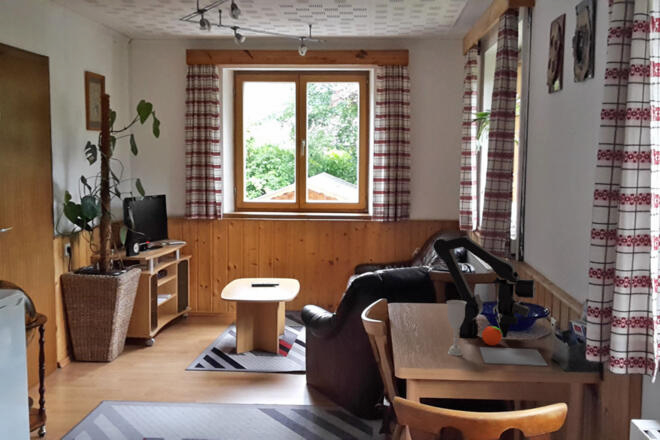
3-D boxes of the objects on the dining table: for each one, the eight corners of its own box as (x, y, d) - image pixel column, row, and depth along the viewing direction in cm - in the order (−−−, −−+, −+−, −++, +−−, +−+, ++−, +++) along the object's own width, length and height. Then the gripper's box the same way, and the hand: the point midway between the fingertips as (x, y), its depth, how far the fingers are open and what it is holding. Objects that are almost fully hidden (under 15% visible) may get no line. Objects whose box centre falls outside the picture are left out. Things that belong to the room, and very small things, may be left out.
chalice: (460, 357, 218) (462, 305, 217) (441, 354, 222) (443, 302, 220) (468, 352, 225) (469, 301, 223) (449, 349, 228) (451, 299, 227)
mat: (484, 363, 212) (484, 362, 212) (479, 348, 230) (479, 347, 230) (547, 366, 210) (547, 365, 210) (537, 350, 227) (537, 349, 227)
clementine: (507, 345, 233) (508, 326, 233) (497, 349, 229) (498, 329, 228) (488, 341, 239) (488, 322, 238) (478, 344, 234) (478, 325, 234)
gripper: (533, 301, 228) (531, 345, 229) (523, 291, 246) (522, 331, 247) (500, 300, 229) (499, 343, 230) (493, 290, 247) (492, 330, 249)
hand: (504, 337), depth 239 cm, fingers closed
